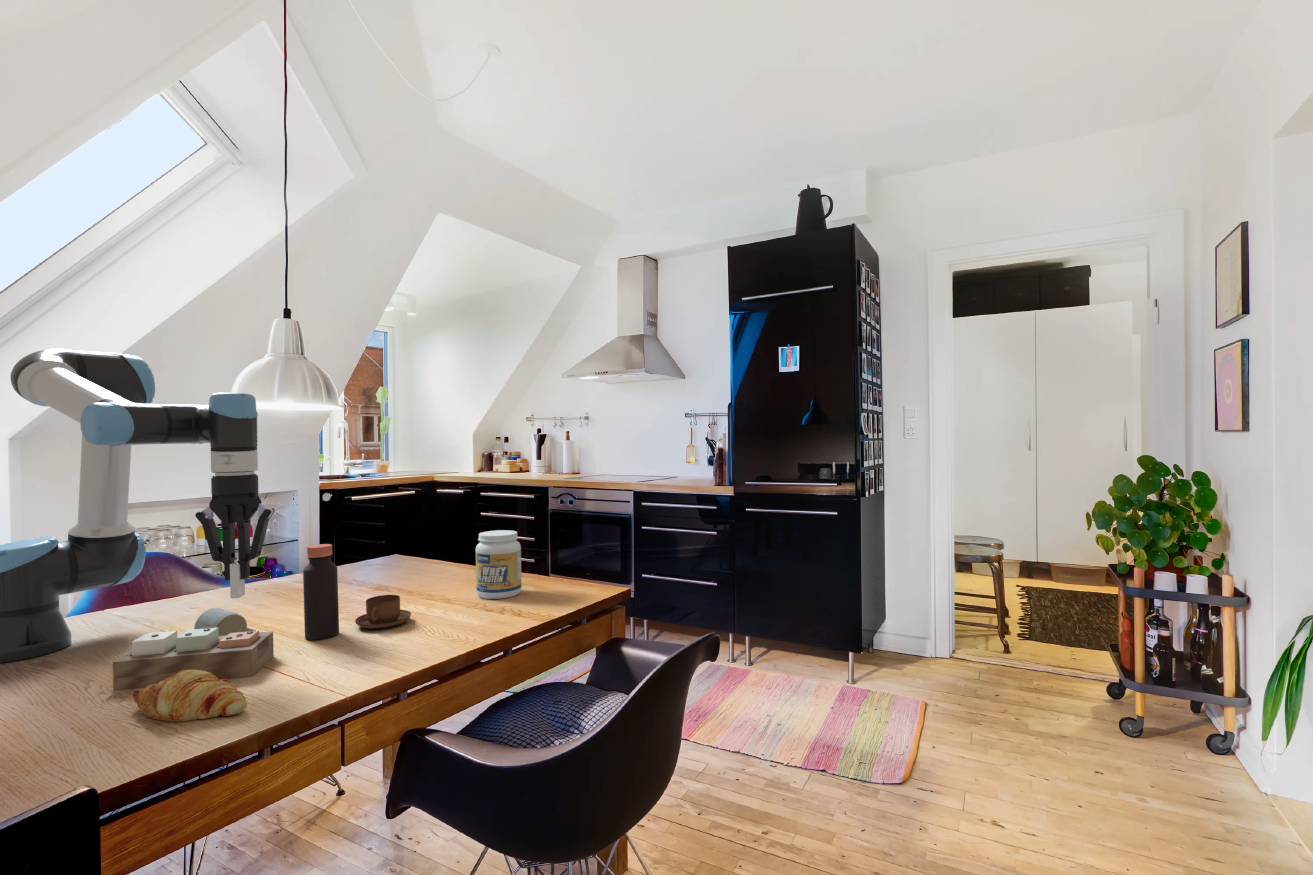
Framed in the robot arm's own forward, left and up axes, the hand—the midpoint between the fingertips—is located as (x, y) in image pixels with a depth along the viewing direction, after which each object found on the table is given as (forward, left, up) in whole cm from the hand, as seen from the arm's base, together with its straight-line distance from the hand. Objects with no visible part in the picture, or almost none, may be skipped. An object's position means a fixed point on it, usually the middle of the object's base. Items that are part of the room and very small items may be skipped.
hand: (237, 596), depth 122 cm
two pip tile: (-7, 0, -10) cm, 12 cm away
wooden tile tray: (-7, 0, -14) cm, 15 cm away
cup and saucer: (+22, +22, -14) cm, 34 cm away
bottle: (+10, +17, -14) cm, 24 cm away
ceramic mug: (-9, +19, -14) cm, 25 cm away
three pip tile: (0, 0, -11) cm, 11 cm away
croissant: (0, -20, -14) cm, 24 cm away
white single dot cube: (-14, 0, -10) cm, 17 cm away
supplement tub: (+48, +42, -14) cm, 65 cm away
